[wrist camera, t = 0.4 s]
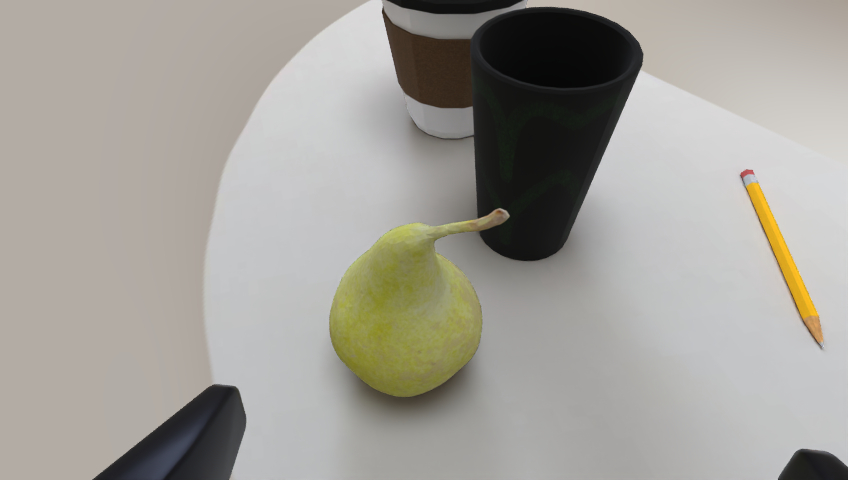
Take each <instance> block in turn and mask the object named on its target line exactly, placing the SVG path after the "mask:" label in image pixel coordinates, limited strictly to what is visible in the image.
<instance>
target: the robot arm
mask: <svg viewBox="0 0 848 480" xmlns="http://www.w3.org/2000/svg"><path fill="white" fill-rule="evenodd" d="M245 427H246V414H245V411H244V407H243V403H242V400H241V396H240V392H239V390H238V389H237V388H236V387H235V386H230V385H220V384H215V385H212V386H210V387H208V388H207V389H206V390H204V391H203V392H202V393H201V394H199V395H198V396H197V397H196V398H194V399H193V400H192V401H191V402H189V403H188V404H187V405H186V406H184V407H183V408H182V409H180V410H179V411H178V412H177V413H175V414H174V415H173V416H172V417H170V418H169V419H168V420H167V421H166V422H164V423H163V424H162V425H161V426H159V427H158V428H157V429H156V430H154V431H153V432H152V433H150V434H149V435H148V436H147V437H145V438H144V439H143V440H142V441H140V442H139V443H138V444H137V445H135V446H134V447H133V448H131V449H130V450H129V451H128V452H127V453H125V454H124V455H123V456H122V457H120V458H119V459H118V460H116V461H115V462H114V463H113V464H111V465H110V466H109V467H108V468H106V469H105V470H104V471H103V472H101V473H100V474H99V475H98V476H96V477H95V478H94V479H93V480H229V479H230V476H231V472H232V469H233V466H234V463H235V460H236V457H237V454H238V450H239V447H240V444H241V441H242V438H243V435H244V431H245ZM778 480H848V467H847V466H846V465H845V464H844V463H843V462H842V461H840V460H839V459H838V458H837V457H836V456H834V455H833V454H831V453H829V452H826V451H819V450H810V449H800V450H798V451H796V452H795V453H794V455H793V456H792V458H791V459H790V461H789V462H788V464H787V465H786V467H785V468H784V470H783V471H782V473H781V474H780V476H779V478H778Z"/></svg>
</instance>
